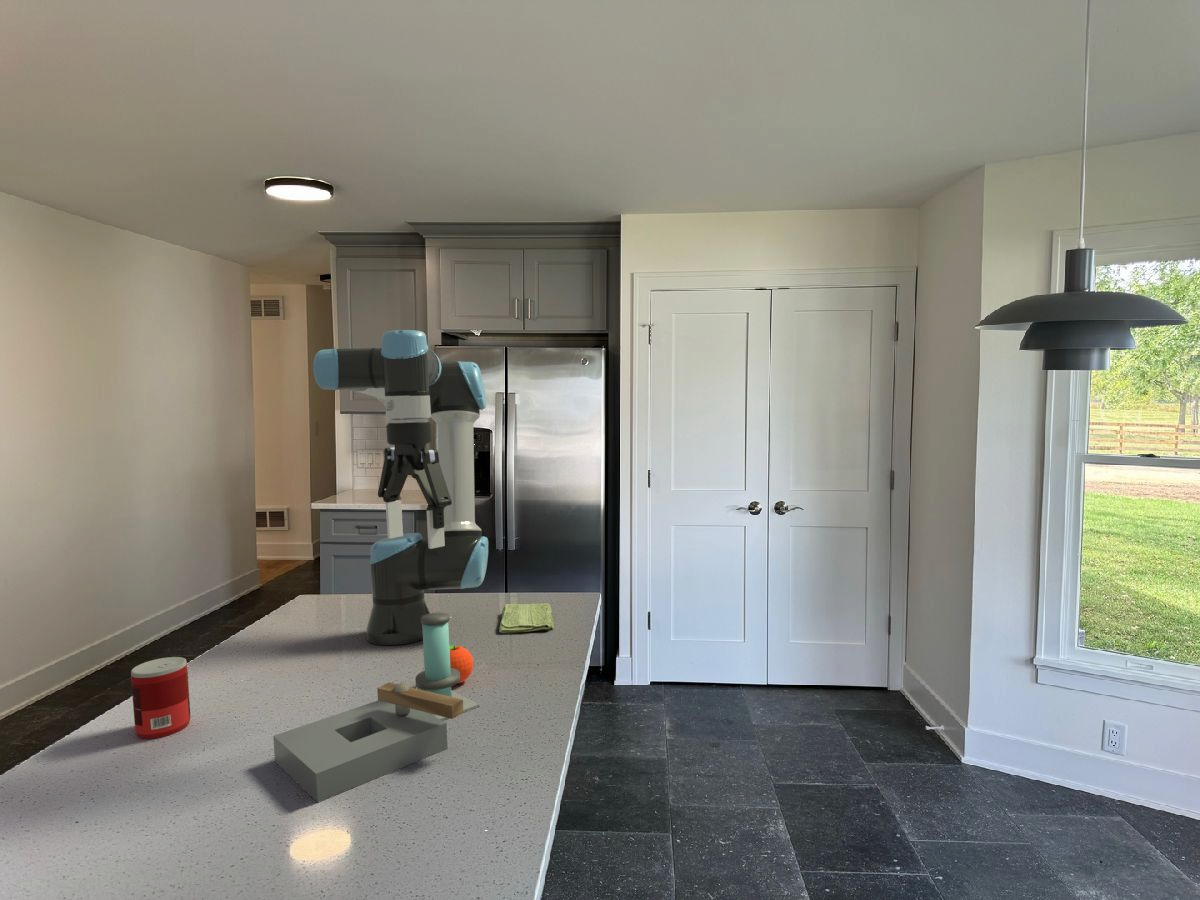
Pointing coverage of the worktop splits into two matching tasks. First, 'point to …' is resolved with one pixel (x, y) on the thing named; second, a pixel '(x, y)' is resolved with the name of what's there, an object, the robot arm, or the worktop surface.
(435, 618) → the plug
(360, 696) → the worktop surface
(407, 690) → the brown wooden lever
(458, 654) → the clementine
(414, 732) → the socket block
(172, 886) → the worktop surface
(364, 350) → the robot arm
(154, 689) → the canned food
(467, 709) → the mat
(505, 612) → the washcloth
